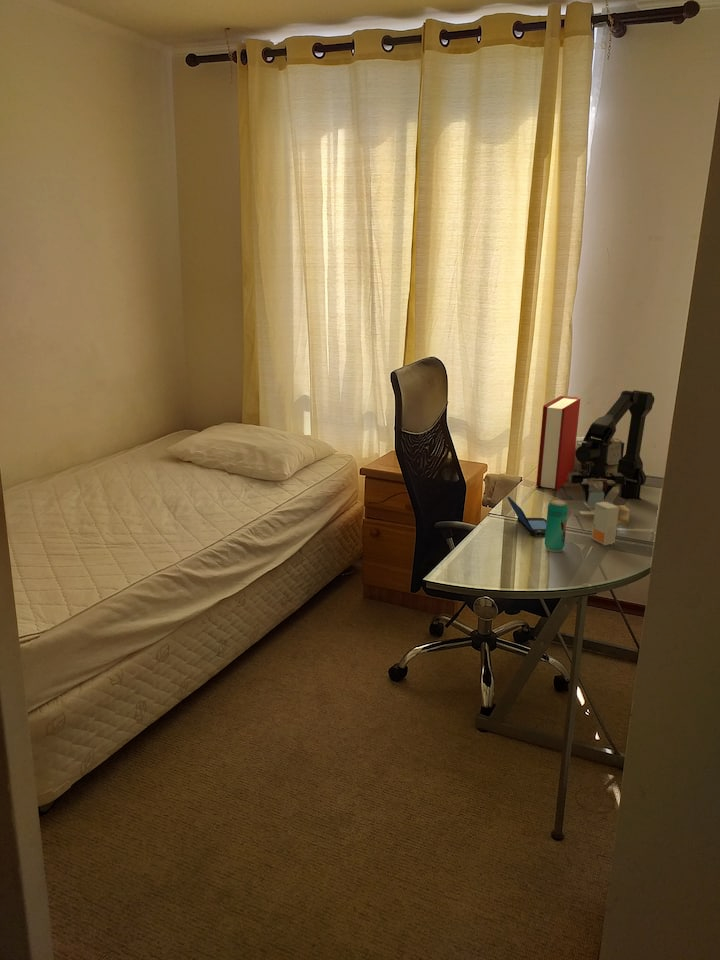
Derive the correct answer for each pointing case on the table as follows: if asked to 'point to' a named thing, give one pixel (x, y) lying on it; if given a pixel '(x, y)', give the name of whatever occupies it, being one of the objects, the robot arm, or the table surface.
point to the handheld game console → (529, 521)
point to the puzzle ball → (576, 463)
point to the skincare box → (605, 523)
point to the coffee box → (614, 455)
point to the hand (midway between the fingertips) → (594, 501)
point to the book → (558, 441)
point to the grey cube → (595, 497)
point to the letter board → (581, 508)
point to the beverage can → (556, 525)
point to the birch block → (623, 514)
